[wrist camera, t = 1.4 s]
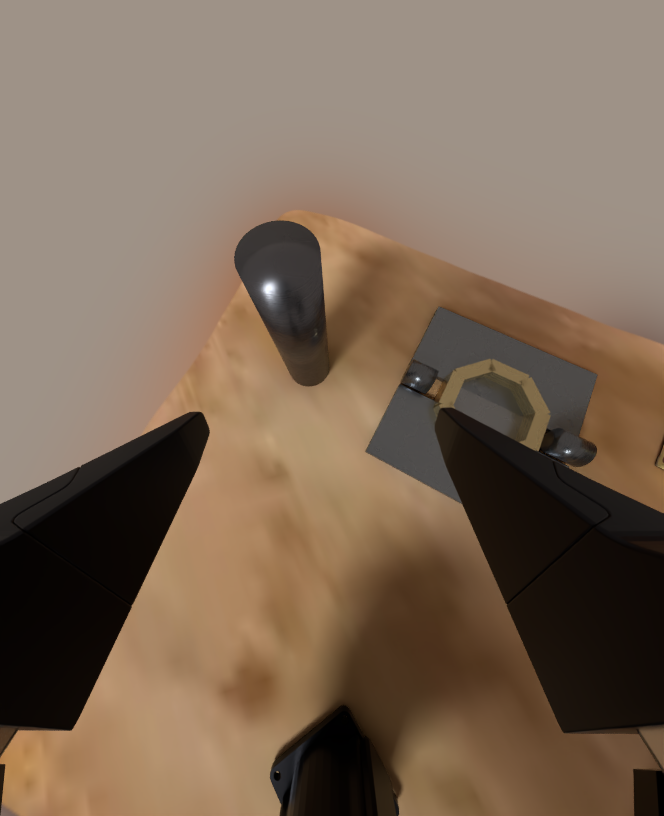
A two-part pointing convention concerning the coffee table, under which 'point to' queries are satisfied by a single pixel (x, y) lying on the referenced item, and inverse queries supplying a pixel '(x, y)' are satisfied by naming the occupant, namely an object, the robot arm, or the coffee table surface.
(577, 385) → the grey square base plate
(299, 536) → the coffee table surface
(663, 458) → the candy box
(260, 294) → the pin
